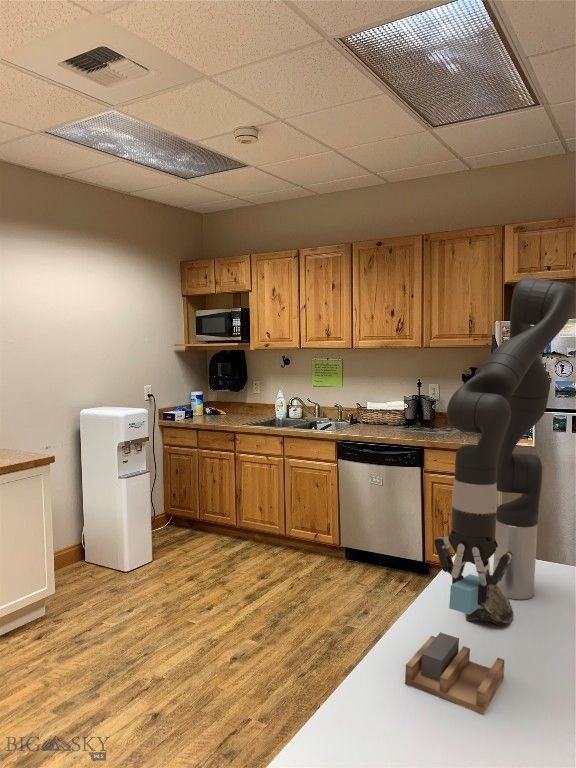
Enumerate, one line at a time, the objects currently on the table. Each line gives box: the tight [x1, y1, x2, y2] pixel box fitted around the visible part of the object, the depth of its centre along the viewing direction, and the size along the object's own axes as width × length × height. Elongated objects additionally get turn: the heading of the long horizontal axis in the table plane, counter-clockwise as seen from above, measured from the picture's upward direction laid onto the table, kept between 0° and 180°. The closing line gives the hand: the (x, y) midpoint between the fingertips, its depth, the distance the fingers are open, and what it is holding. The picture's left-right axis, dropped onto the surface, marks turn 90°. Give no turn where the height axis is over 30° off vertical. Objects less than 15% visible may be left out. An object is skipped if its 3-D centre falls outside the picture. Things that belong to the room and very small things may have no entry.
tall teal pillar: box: [448, 573, 480, 615], centre depth 103 cm, size 9×4×4 cm, turn 142°
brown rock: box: [465, 585, 514, 626], centre depth 126 cm, size 11×9×10 cm
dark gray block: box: [421, 632, 460, 682], centre depth 105 cm, size 9×4×4 cm, turn 145°
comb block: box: [404, 635, 505, 715], centre depth 103 cm, size 12×14×4 cm
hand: (470, 600), depth 103 cm, fingers closed on tall teal pillar, 3 cm apart
